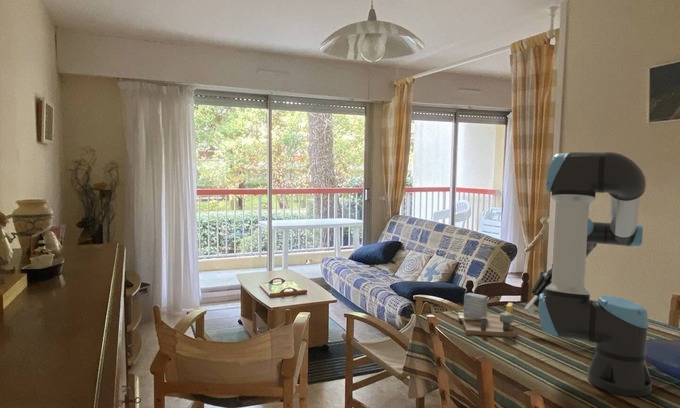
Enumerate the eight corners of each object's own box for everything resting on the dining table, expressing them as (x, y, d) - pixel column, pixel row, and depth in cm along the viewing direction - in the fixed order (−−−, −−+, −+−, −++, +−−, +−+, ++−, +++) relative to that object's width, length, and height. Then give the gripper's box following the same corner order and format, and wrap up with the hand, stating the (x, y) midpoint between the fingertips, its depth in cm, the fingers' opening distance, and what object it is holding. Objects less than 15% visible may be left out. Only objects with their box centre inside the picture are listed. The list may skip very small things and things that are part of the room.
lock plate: (515, 337, 159) (516, 320, 159) (463, 334, 162) (463, 317, 161) (503, 318, 179) (504, 304, 178) (457, 316, 181) (457, 301, 181)
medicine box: (487, 318, 174) (488, 296, 174) (482, 320, 171) (483, 298, 170) (468, 313, 179) (468, 292, 179) (463, 316, 176) (463, 294, 175)
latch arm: (511, 331, 158) (512, 312, 158) (498, 329, 160) (499, 310, 160) (516, 321, 169) (516, 303, 168) (503, 319, 171) (504, 301, 171)
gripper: (586, 274, 163) (546, 323, 160) (559, 266, 176) (521, 312, 172) (574, 260, 161) (534, 310, 158) (548, 253, 174) (510, 299, 170)
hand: (527, 311), depth 165 cm, fingers closed
